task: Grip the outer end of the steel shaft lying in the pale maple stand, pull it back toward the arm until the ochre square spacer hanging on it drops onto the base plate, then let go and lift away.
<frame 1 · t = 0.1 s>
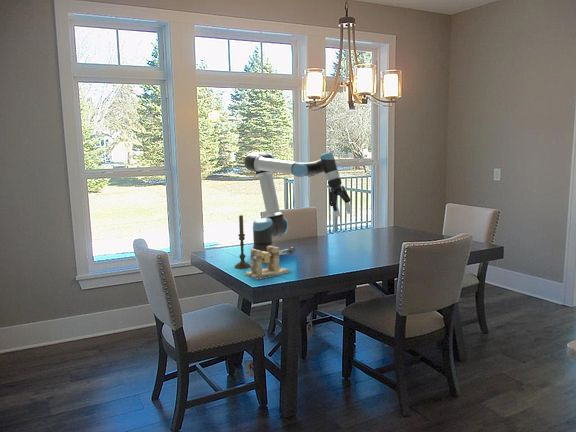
hand: (344, 215, 268), 28 cm above the table, tool tilted 20°, fingers open, 13 cm apart
shaft: (274, 253, 253), point 10 cm above the table, slide at 0.0 cm, touching spacer
shaft stand: (267, 273, 252), on the table
candlestick holder: (242, 267, 267), on the table
spacer: (264, 261, 250), point 7 cm above the table, touching shaft
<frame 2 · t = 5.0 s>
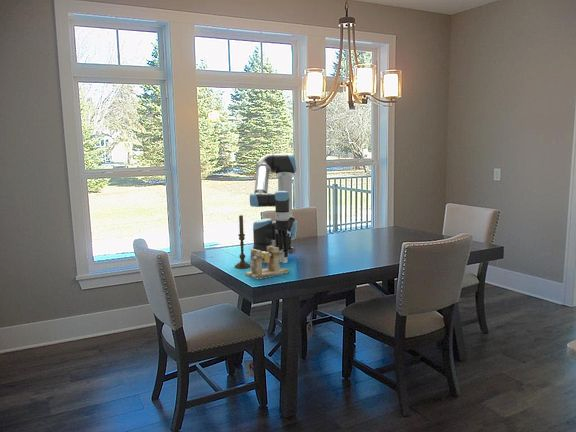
hand: (283, 262, 258), 5 cm above the table, tool pointing down, fingers closed on shaft, 2 cm apart
shaft: (274, 253, 253), point 10 cm above the table, slide at 0.0 cm, touching gripper, spacer
everything else where it was.
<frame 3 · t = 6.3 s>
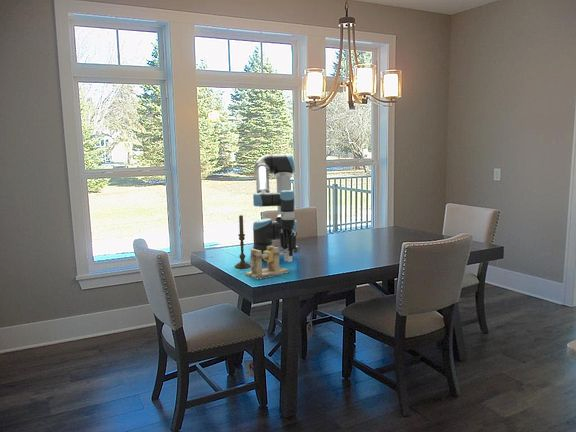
hand: (288, 260, 260), 5 cm above the table, tool pointing down, fingers closed on shaft, 2 cm apart
shaft: (279, 252, 255), point 10 cm above the table, slide at 3.4 cm, touching gripper
spacer: (268, 260, 251), point 7 cm above the table
everything else where it was.
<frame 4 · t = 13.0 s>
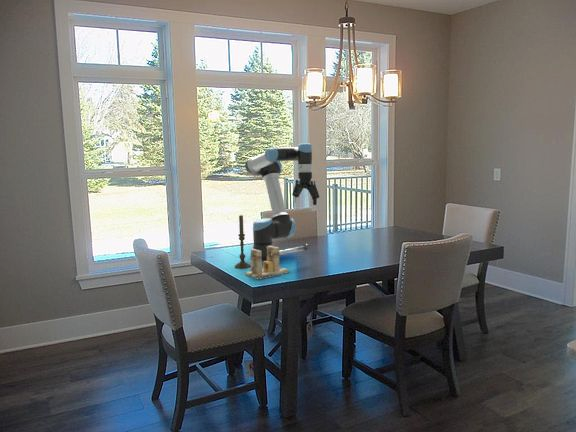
hand: (305, 209, 264), 32 cm above the table, tool pointing down, fingers open, 13 cm apart
shaft: (290, 250, 260), point 10 cm above the table, slide at 10.9 cm
spacer: (268, 270, 252), point 1 cm above the table, touching shaft stand
everything else where it was.
at the end: shaft slide at 10.9 cm; spacer point 1.5 cm above the table; spacer inside the target area on the shaft stand (0.8 cm from its centre), point 1.5 cm above the shaft stand's base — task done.
